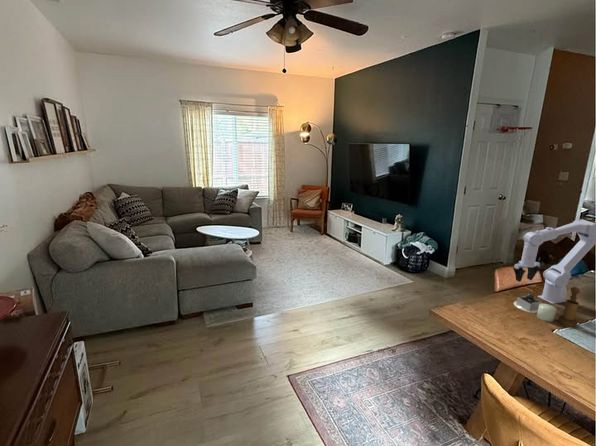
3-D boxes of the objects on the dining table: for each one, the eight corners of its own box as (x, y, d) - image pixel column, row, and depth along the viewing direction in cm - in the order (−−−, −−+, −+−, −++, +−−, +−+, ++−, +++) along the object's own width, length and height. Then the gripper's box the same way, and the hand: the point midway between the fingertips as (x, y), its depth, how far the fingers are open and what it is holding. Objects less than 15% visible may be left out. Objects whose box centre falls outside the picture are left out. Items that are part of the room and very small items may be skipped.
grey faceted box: (522, 300, 160) (523, 293, 159) (540, 309, 151) (541, 302, 150) (511, 301, 158) (513, 295, 157) (529, 311, 150) (530, 304, 149)
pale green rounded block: (543, 314, 148) (546, 302, 146) (557, 321, 142) (560, 309, 140) (533, 315, 146) (535, 304, 145) (546, 323, 140) (549, 311, 139)
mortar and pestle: (580, 328, 136) (589, 291, 131) (563, 327, 137) (572, 290, 133) (570, 320, 142) (579, 284, 138) (554, 319, 143) (562, 283, 139)
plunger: (527, 302, 157) (529, 291, 155) (537, 307, 152) (539, 296, 150) (519, 303, 155) (521, 293, 154) (529, 308, 151) (531, 297, 149)
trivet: (525, 299, 161) (525, 299, 161) (549, 311, 150) (549, 311, 150) (507, 302, 158) (507, 302, 158) (530, 315, 147) (530, 314, 147)
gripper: (532, 251, 162) (527, 275, 166) (510, 254, 158) (506, 278, 162) (546, 256, 156) (540, 281, 159) (523, 258, 152) (518, 284, 155)
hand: (523, 280), depth 160 cm, fingers open, 7 cm apart
